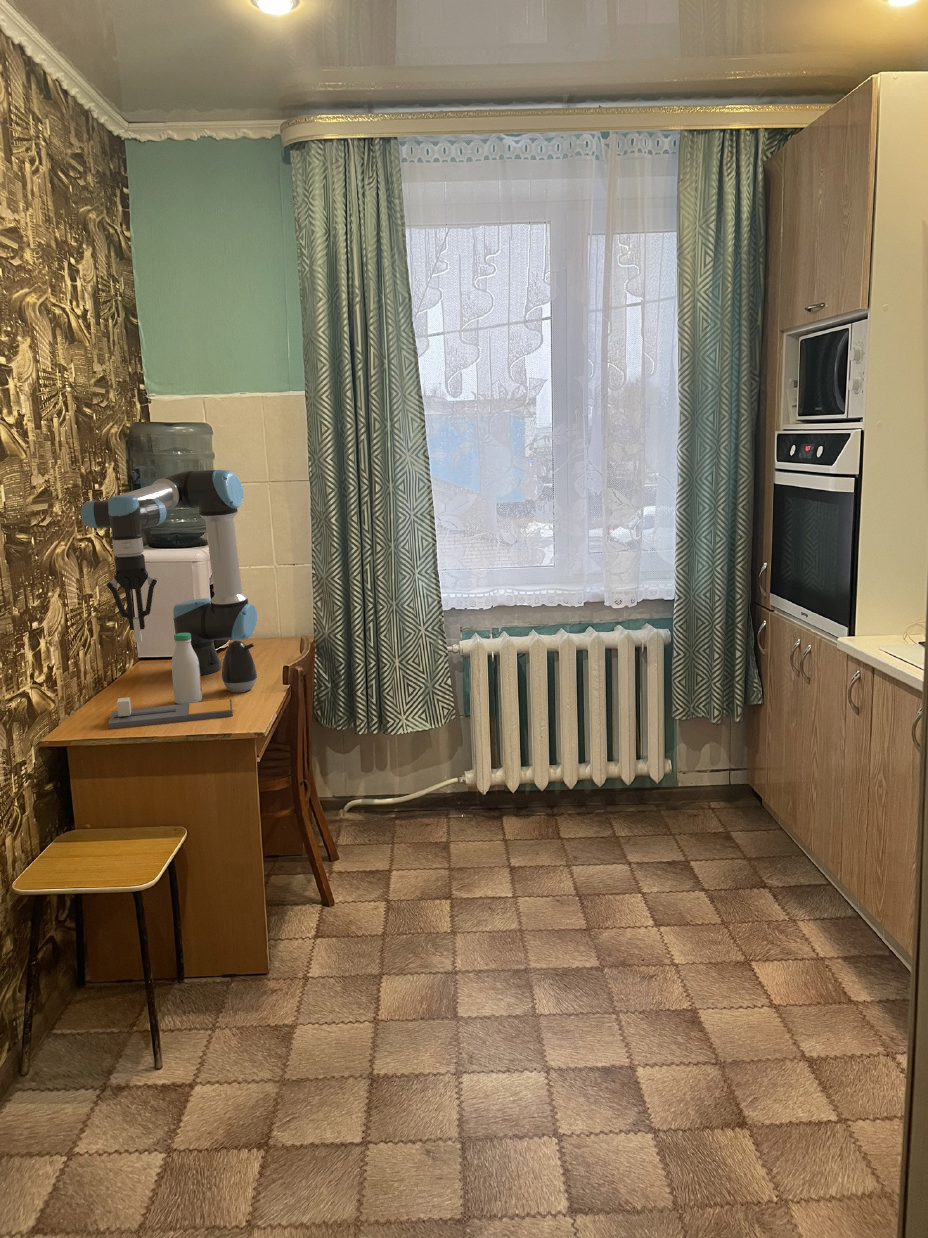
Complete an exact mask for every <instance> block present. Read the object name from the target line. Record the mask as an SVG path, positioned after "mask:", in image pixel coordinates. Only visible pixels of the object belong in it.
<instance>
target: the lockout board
mask: <svg viewBox="0 0 928 1238" xmlns="http://www.w3.org/2000/svg"><path fill="white" fill-rule="evenodd" d="M233 716H234V715H233V701H232V699H229V698H228V699H218V700H211V701H209V700H208V701H200V702H197V703H189V704H172V705H171V704H169V705H163V706H161V705H160V706H152V707H142V708H140V707H139V708H133V709H132V708H131V715H129V716H118V710H112V712H111V714H110V718H109V720H108V723H107V725H108V729H109V730H111V729H112V730H113V729H121V728H130V727H140V726H149V725H159V724H160V725H161V724H168V723H179V722H188V721H199V720H206V719H216V718H224V717H225V718H226V717H227V718H229V717H233Z"/></svg>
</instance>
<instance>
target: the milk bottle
mask: <svg viewBox="0 0 928 1238" xmlns="http://www.w3.org/2000/svg"><path fill="white" fill-rule="evenodd" d="M173 638H174V643H175V648H174V651H173V654H172V658H171V674H172V675H171V677H172V687H173V699H174V703H175V704H176V705H180V704H189V703H197V702H202V700H203V692H202V691H203V689H202V681H201V680H202V679H201V675H200V669H199V662H198V658H197V655H196V653H195V652H194V650H193V648H192V646H191V634H190V633H178V634H175V633H174V635H173Z"/></svg>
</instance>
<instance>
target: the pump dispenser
mask: <svg viewBox="0 0 928 1238" xmlns="http://www.w3.org/2000/svg"><path fill="white" fill-rule="evenodd" d="M254 646H255V645H254V643H249V644H246V643H245V642H243V640H237V641H233V640H232V642H230V643H229V644H228V646H227V648H226V651H225V652H224V653H225V654H224V657H223V661H222V666H221V669H222V670H221V680H222V682H223V685H224V687H226V689H227V690H228V691H230V692H232V693H246V692H248V691H250V690H251V689H253V688H254V687H255V684H256V681H257V678H258V674H257V667H256V664H255V660H254V658H253V655H252V653H251V651H250V649H252V648H253V647H254Z"/></svg>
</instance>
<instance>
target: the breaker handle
mask: <svg viewBox="0 0 928 1238" xmlns="http://www.w3.org/2000/svg"><path fill="white" fill-rule="evenodd" d="M116 706H117V707H116V708H117V711H118V716H129V715H131V709H132V705H131V697H128V696H127V697H119V698H117V701H116Z"/></svg>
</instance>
